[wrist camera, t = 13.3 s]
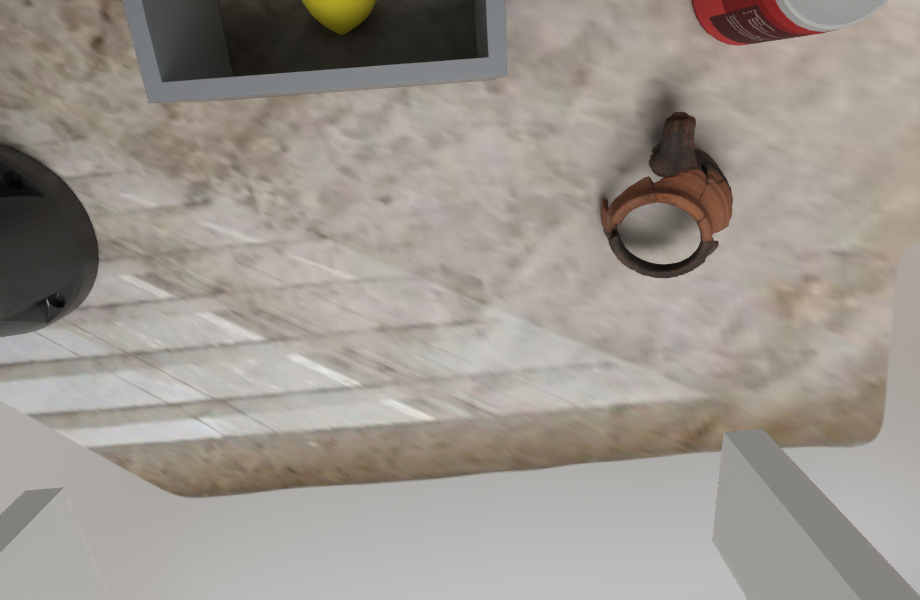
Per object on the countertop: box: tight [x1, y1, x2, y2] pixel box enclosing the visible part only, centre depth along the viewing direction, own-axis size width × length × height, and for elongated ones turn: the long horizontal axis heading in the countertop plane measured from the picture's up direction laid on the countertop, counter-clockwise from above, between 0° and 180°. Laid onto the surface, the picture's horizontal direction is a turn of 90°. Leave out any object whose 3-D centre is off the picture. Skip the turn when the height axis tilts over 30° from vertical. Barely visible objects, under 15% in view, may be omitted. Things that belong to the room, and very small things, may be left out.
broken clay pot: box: [601, 112, 733, 278], centre depth 41 cm, size 12×10×8 cm
